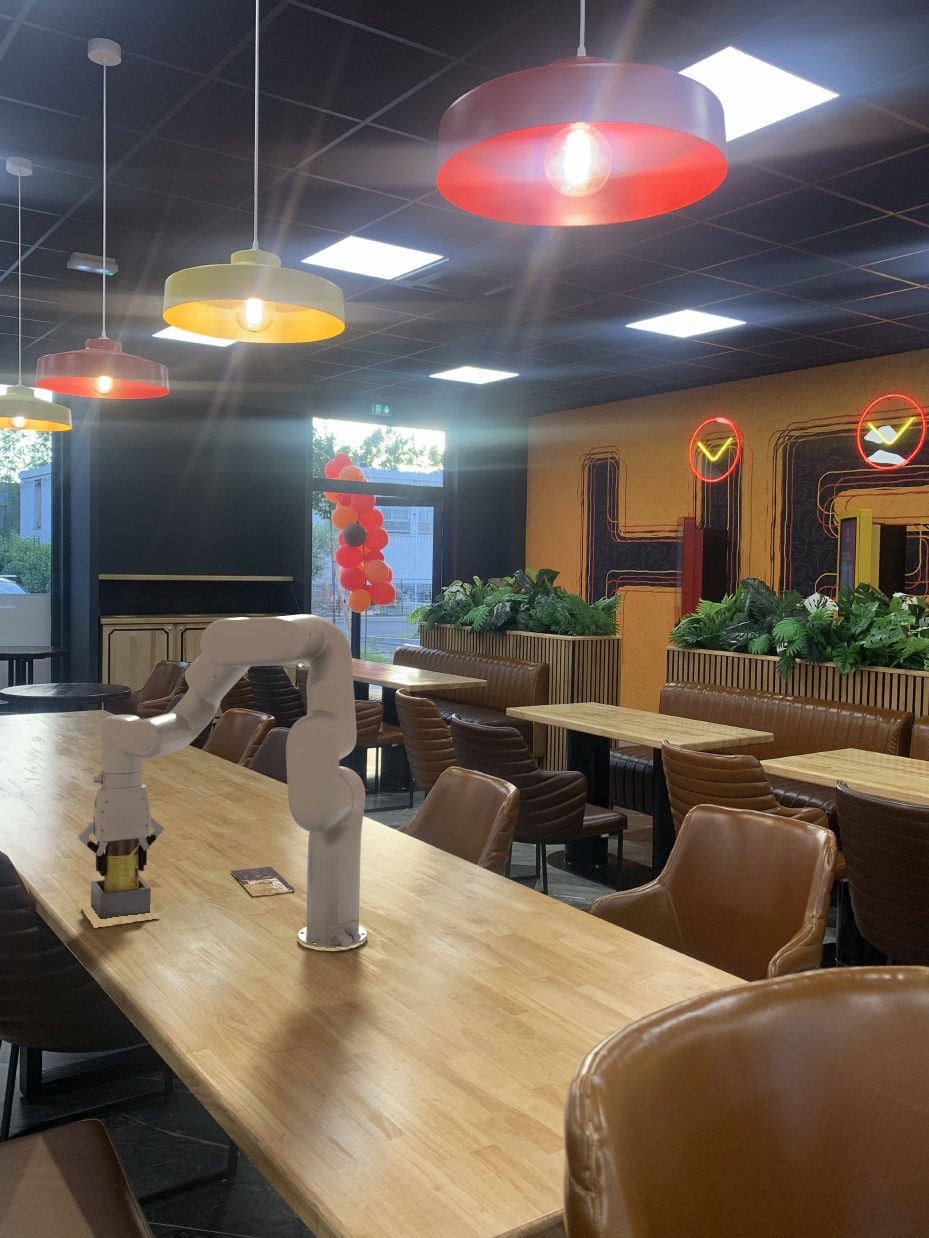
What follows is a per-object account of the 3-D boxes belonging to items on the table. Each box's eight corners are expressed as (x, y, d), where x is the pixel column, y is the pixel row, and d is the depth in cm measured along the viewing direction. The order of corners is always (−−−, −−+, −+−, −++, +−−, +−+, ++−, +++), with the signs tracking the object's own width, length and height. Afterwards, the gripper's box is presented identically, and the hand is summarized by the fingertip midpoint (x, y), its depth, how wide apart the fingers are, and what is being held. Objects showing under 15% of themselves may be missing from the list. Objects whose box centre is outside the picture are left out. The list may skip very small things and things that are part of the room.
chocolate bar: (270, 866, 225) (294, 889, 209) (270, 870, 225) (294, 893, 209) (230, 870, 221) (252, 894, 205) (230, 875, 221) (252, 899, 205)
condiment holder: (159, 918, 191) (159, 889, 191) (93, 928, 185) (93, 898, 185) (144, 900, 201) (145, 872, 201) (81, 909, 195) (82, 880, 195)
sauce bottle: (142, 909, 192) (143, 806, 191) (108, 914, 189) (110, 810, 188) (132, 900, 197) (134, 800, 197) (100, 904, 194) (101, 803, 193)
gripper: (77, 787, 184) (77, 883, 185) (172, 779, 193) (171, 870, 194) (70, 780, 191) (70, 872, 192) (162, 772, 200) (162, 861, 200)
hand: (121, 870), depth 193 cm, fingers open, 6 cm apart
